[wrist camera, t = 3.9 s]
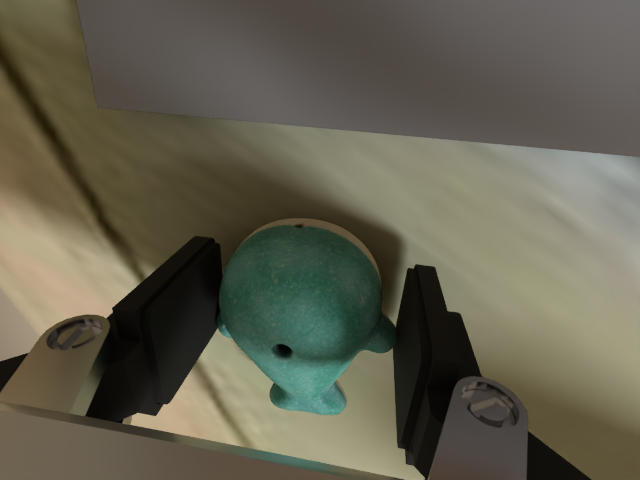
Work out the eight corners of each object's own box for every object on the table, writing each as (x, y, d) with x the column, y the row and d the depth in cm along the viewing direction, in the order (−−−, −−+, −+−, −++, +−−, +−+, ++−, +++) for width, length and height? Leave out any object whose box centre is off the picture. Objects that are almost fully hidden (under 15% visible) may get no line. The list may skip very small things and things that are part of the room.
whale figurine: (408, 213, 10) (422, 281, 7) (385, 391, 14) (386, 497, 10) (221, 201, 11) (152, 256, 8) (240, 371, 14) (197, 464, 11)
